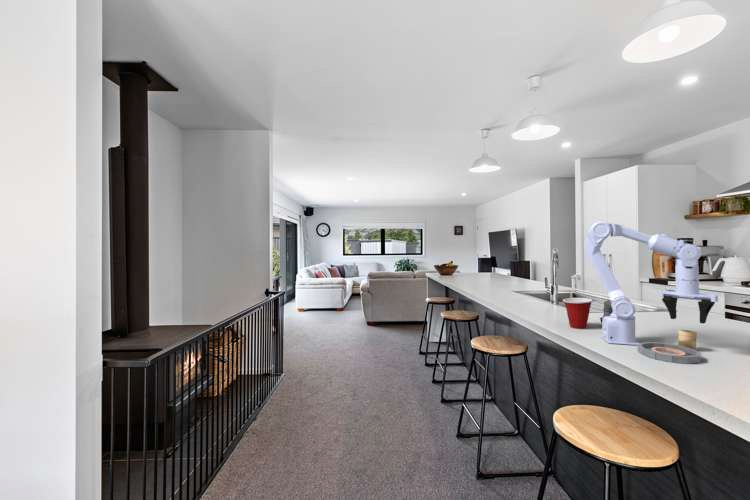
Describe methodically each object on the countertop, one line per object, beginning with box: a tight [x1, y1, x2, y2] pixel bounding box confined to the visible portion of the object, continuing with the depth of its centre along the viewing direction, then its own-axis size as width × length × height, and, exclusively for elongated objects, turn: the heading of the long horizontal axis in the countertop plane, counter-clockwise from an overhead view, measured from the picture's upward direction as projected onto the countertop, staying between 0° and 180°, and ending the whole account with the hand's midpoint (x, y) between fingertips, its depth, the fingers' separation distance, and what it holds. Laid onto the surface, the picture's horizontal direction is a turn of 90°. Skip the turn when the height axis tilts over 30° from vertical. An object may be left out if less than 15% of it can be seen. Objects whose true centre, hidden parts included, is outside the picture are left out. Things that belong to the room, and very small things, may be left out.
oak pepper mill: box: [677, 329, 698, 351], centre depth 113 cm, size 4×4×6 cm
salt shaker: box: [599, 298, 614, 329], centre depth 142 cm, size 6×6×12 cm
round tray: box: [637, 341, 702, 365], centre depth 107 cm, size 15×15×2 cm
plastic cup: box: [562, 297, 593, 330], centre depth 143 cm, size 11×11×12 cm
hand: (687, 320), depth 113 cm, fingers open, 7 cm apart
